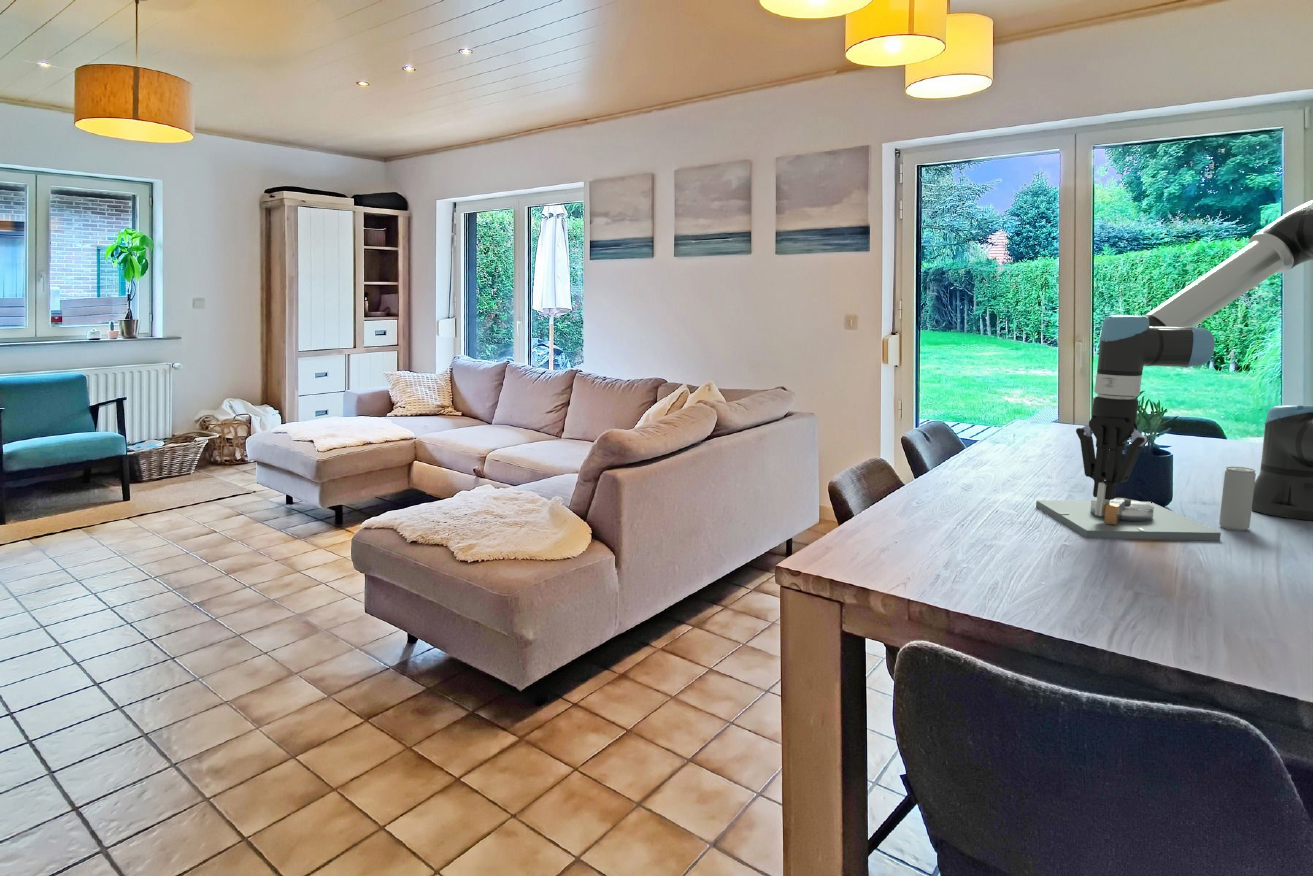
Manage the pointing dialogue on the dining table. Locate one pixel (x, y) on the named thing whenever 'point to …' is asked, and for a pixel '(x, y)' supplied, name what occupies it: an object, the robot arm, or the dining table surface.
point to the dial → (1125, 510)
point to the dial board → (1126, 523)
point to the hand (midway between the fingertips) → (1101, 514)
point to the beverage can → (1237, 498)
